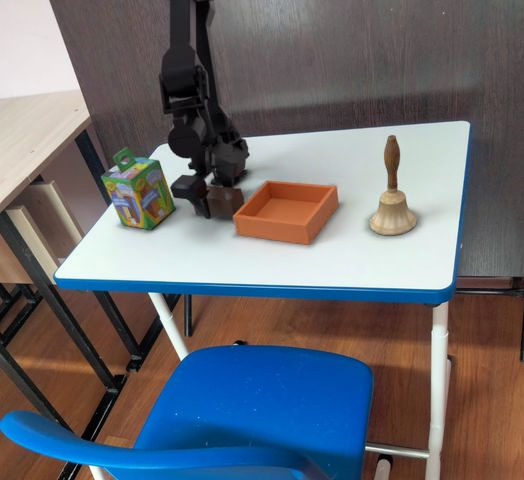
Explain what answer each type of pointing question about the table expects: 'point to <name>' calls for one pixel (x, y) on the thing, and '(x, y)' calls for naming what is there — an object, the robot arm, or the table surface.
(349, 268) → the table surface
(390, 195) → the hand bell
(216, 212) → the eraser
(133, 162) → the chalk box
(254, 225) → the tray
